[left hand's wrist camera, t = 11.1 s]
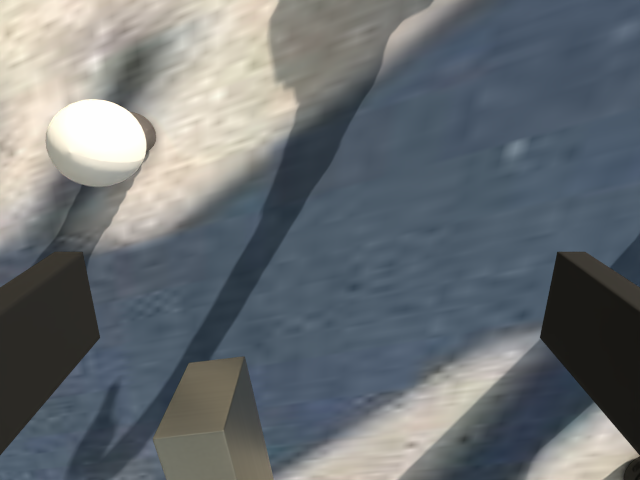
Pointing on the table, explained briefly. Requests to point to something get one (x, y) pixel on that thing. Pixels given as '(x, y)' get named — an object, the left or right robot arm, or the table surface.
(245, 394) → the bar
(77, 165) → the light bulb
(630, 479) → the headphones
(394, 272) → the table surface
